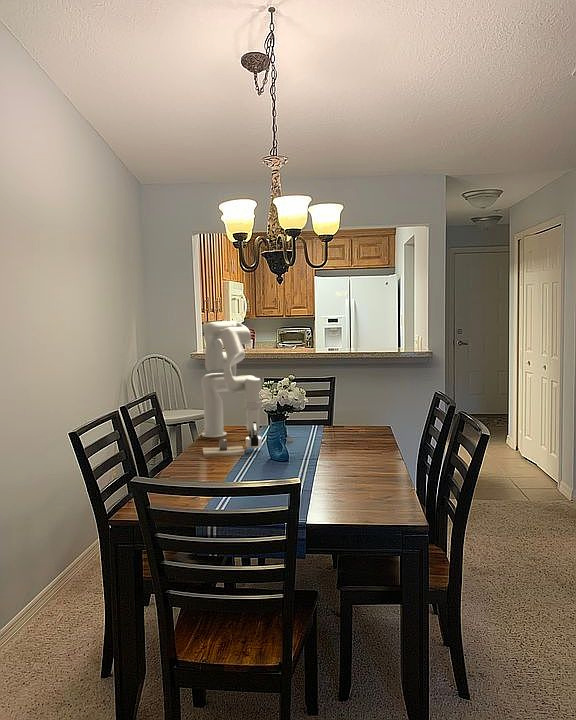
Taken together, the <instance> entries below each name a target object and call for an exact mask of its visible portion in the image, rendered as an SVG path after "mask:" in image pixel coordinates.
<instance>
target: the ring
mask: <svg viewBox="0 0 576 720" xmlns="http://www.w3.org/2000/svg"><path fill="white" fill-rule="evenodd" d="M251 437H252V436H249V435H248V436H247V437H245V448H248V449H258V448H262V447H263V445H262V443H263V442H262V436H259V435H258V446H251Z"/></svg>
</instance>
